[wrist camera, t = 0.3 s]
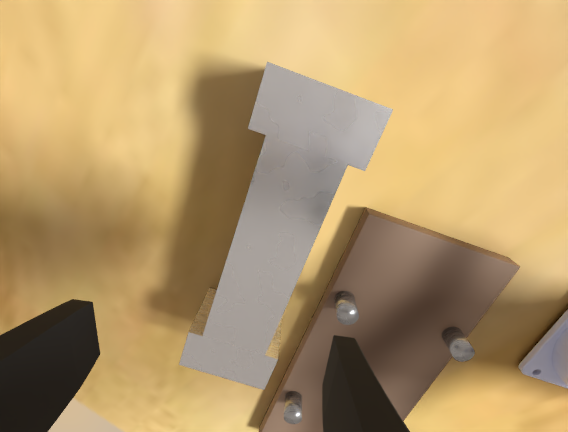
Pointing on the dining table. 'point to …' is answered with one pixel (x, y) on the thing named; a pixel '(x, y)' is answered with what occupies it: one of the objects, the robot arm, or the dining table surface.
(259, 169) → the gray notched block
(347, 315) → the board
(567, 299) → the dining table surface
